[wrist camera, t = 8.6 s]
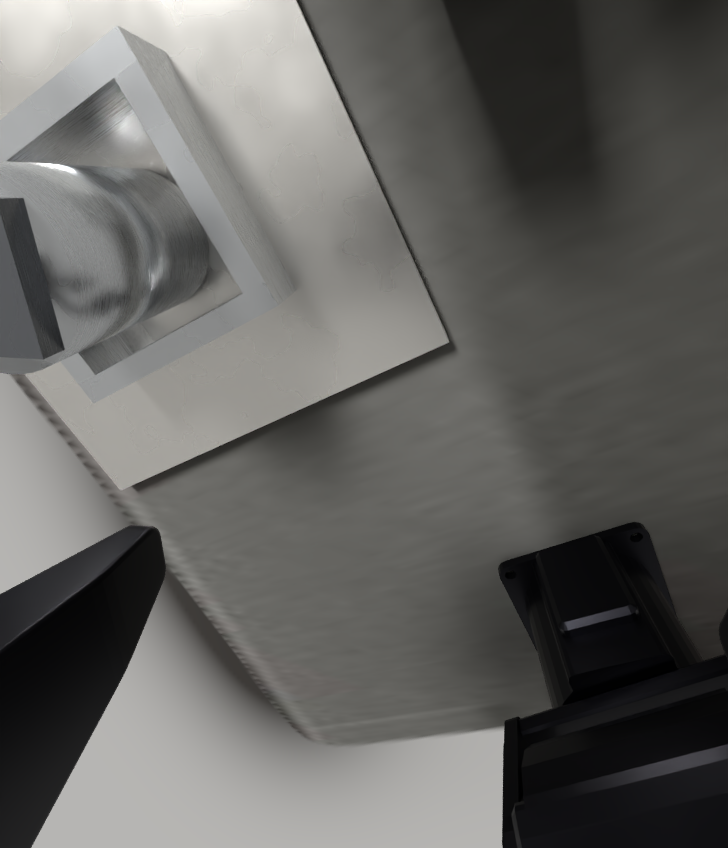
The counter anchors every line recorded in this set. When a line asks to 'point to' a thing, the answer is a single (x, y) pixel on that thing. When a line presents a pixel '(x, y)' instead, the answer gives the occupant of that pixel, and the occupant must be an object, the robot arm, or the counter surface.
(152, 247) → the sleeve
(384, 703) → the counter surface
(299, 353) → the duct socket
